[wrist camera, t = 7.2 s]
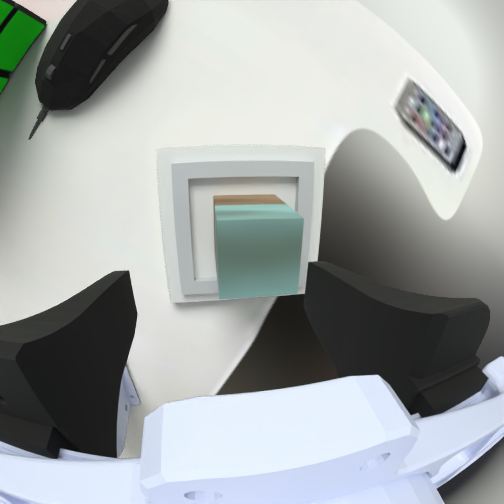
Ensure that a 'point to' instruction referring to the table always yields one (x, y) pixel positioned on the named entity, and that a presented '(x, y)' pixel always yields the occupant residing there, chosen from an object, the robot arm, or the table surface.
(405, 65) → the table surface
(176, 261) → the base plate
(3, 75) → the puzzle cube
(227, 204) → the teal brown rectangular block
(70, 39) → the gaming mouse
